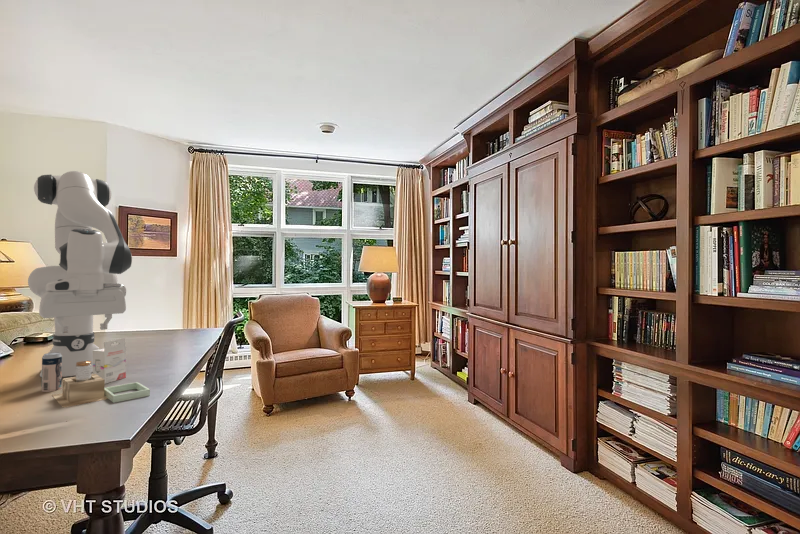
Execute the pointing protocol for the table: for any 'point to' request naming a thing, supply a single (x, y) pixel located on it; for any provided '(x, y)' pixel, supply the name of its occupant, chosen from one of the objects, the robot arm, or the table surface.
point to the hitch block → (81, 391)
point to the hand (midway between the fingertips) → (84, 331)
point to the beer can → (51, 372)
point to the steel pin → (83, 371)
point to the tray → (126, 396)
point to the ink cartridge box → (110, 361)
